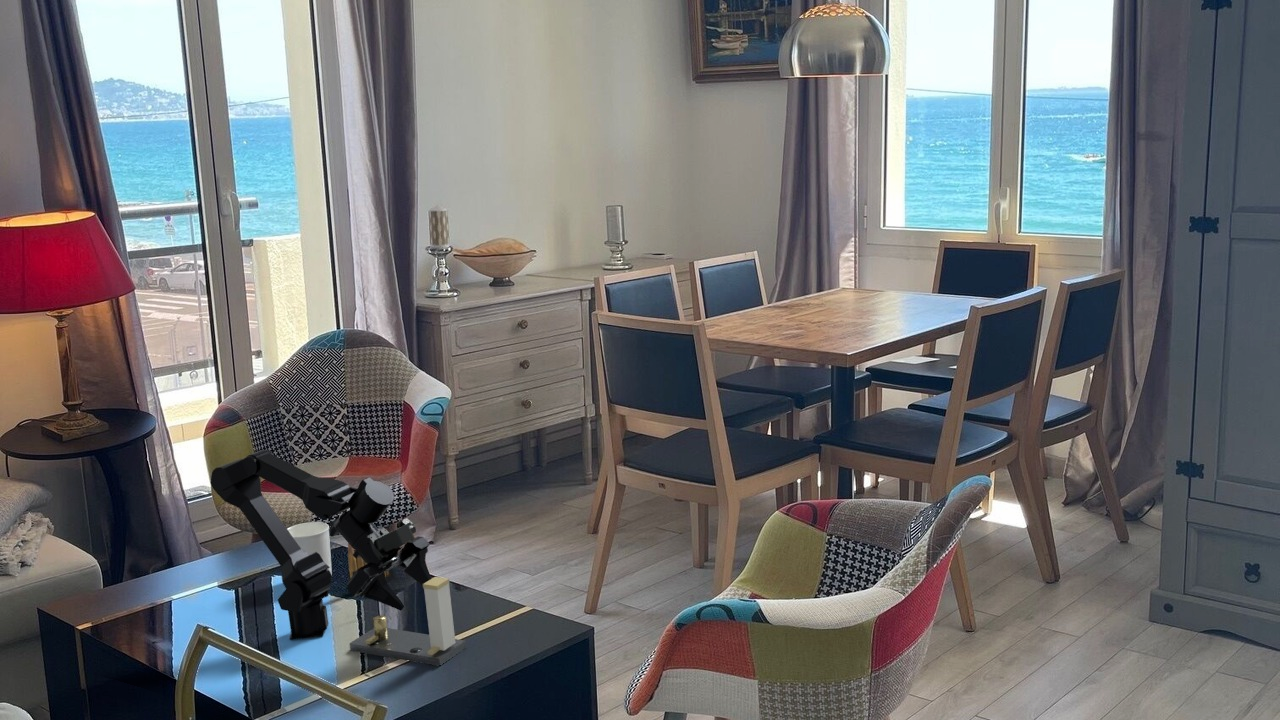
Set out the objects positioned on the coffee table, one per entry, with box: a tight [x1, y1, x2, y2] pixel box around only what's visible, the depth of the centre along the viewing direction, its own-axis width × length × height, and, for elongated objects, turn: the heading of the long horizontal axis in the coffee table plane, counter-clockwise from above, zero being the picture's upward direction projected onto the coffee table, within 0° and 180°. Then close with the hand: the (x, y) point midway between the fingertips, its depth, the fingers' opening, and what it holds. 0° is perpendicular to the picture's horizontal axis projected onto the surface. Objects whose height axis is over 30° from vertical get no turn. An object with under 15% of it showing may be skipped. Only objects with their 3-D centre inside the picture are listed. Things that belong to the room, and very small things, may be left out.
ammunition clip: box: [347, 527, 396, 583], centre depth 256 cm, size 11×2×12 cm, turn 139°
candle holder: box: [286, 521, 333, 576], centre depth 262 cm, size 10×10×12 cm
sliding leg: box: [422, 576, 456, 655], centre depth 218 cm, size 3×6×13 cm, turn 153°
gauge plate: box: [349, 615, 467, 667], centre depth 223 cm, size 21×8×6 cm, turn 63°
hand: (418, 599), depth 220 cm, fingers open, 9 cm apart
